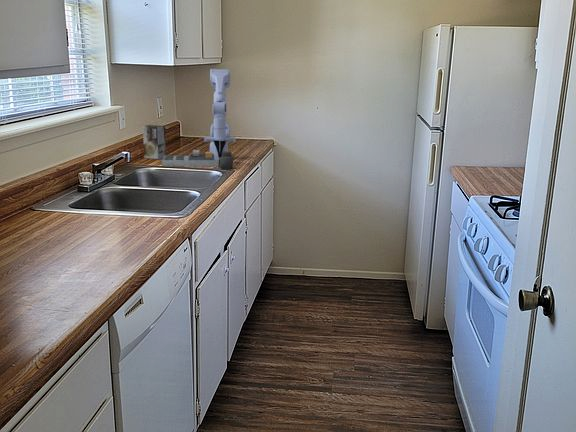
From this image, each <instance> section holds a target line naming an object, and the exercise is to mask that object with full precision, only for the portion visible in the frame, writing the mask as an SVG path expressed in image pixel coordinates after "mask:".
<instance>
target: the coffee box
mask: <svg viewBox="0 0 576 432" xmlns="http://www.w3.org/2000/svg"><path fill="white" fill-rule="evenodd" d="M165 128H166V126H165V125H160V124H159V125H158V124H146V125H143V126H142V137H143V139H142V140H143V157H144V159H153V160H160V159H161V160H162V159H163V157H164V156H167V154H166V132H165V131H166V129H165Z"/></svg>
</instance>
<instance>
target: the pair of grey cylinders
mask: <svg viewBox="0 0 576 432" xmlns="http://www.w3.org/2000/svg"><path fill="white" fill-rule="evenodd" d="M232 153H233V152H232V151H228V152H222V156H221V157H219V169H220V170H233V169H234V157H233V154H232Z"/></svg>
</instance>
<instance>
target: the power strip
mask: <svg viewBox="0 0 576 432" xmlns="http://www.w3.org/2000/svg"><path fill="white" fill-rule="evenodd" d="M161 166H169V167H171V166H187V168H189V167H190V168H191V167H194V168H195V167H197V168H198V167H199V168H200V167H205V168H206V167H207V168H208V167H213V168H214V167H215V168H217V167H219V168H220V163H219V159H218V156H214V154H212V158H206V153H200V149H193V150H192V153H188V155H166V156H164V157H163V158H162V159H161Z"/></svg>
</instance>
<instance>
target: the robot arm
mask: <svg viewBox="0 0 576 432" xmlns="http://www.w3.org/2000/svg"><path fill="white" fill-rule="evenodd" d="M209 70H210V71H209V72H210V73H209V80H210V81H209V82H210V85H211V88H213V89H215V91H214V93H213V103H212V117H213V118H212V119H213V123H212V124H211V125H210V129H209V130H210V132H209V133H210V134H209V136H204V137H203V141H204V143H205V142H206V143H208V142H209V152H212V154H214V156H218V159H219V157H221V156H222V152H229V149H228V148H229V147H228V144H229V143H231V142H232V143H236V137H235V136H234V137H232V136H231V125H230V124H228V123H227V113H228V112H227V111H228V105H227V93H226V89H229V88H230V85H231V70H230V69H220V68H219V69H218V68H217V69H215V68H211V69H209ZM228 142H229V143H228Z"/></svg>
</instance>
